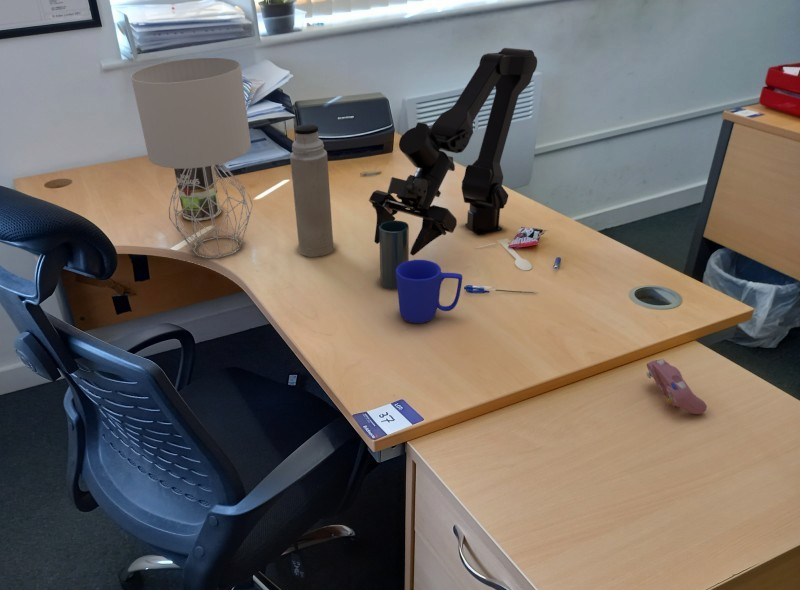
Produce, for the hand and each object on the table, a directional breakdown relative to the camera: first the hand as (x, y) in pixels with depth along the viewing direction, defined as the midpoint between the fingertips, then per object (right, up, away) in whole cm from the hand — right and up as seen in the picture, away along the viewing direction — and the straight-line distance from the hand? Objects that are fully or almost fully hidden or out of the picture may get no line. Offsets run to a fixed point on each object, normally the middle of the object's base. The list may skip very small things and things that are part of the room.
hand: (393, 248), depth 138 cm
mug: (+6, -14, -7) cm, 17 cm away
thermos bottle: (-16, +3, +21) cm, 26 cm away
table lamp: (-39, +4, +25) cm, 47 cm away
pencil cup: (+1, -6, +5) cm, 8 cm away
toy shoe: (+39, -29, -32) cm, 58 cm away
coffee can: (-46, +16, +43) cm, 65 cm away
